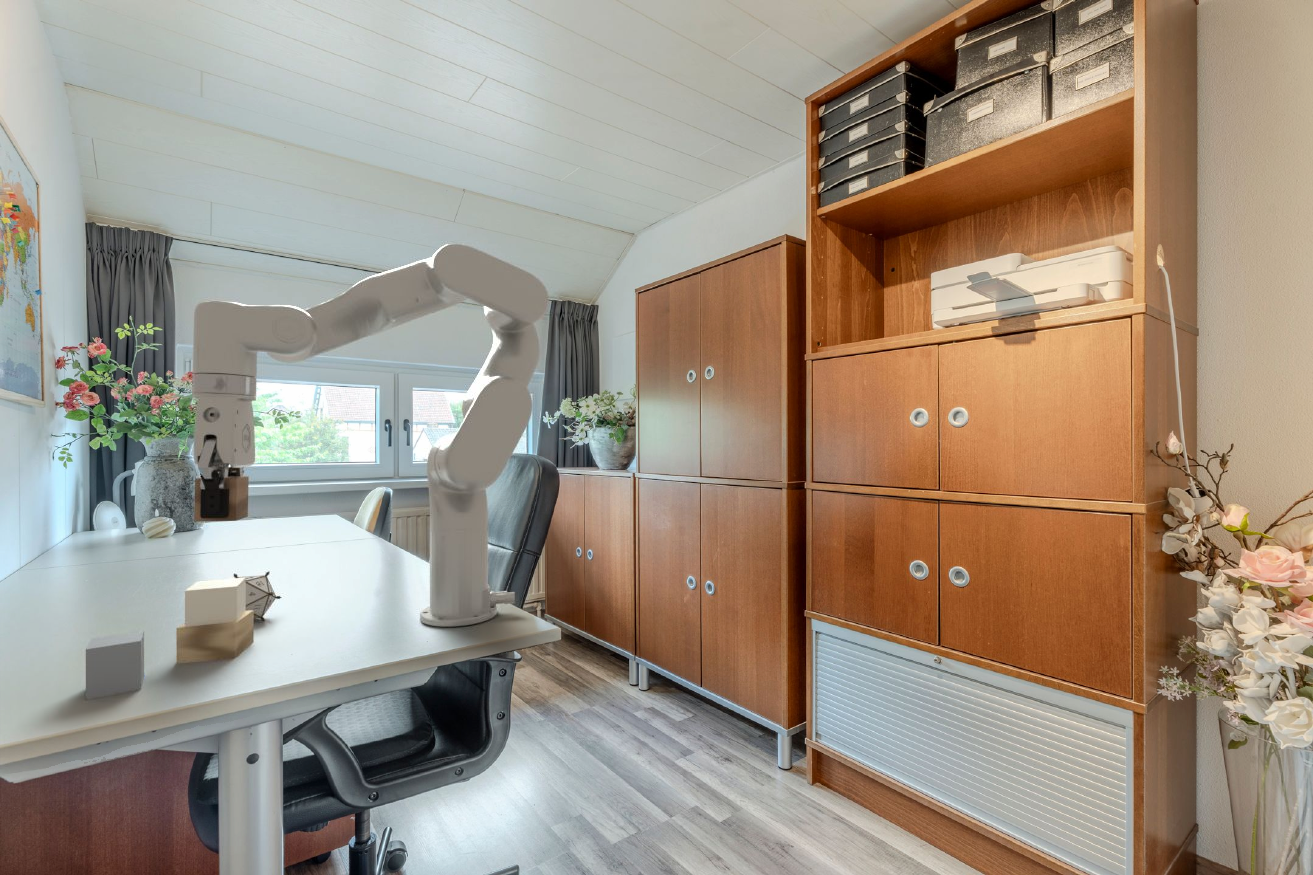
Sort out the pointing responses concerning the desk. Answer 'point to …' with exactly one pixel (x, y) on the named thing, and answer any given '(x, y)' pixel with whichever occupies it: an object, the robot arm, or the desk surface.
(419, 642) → the desk surface
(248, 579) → the game die
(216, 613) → the tower top
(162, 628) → the desk surface
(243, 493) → the walnut block
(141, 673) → the slate block
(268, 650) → the desk surface
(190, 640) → the tower base
